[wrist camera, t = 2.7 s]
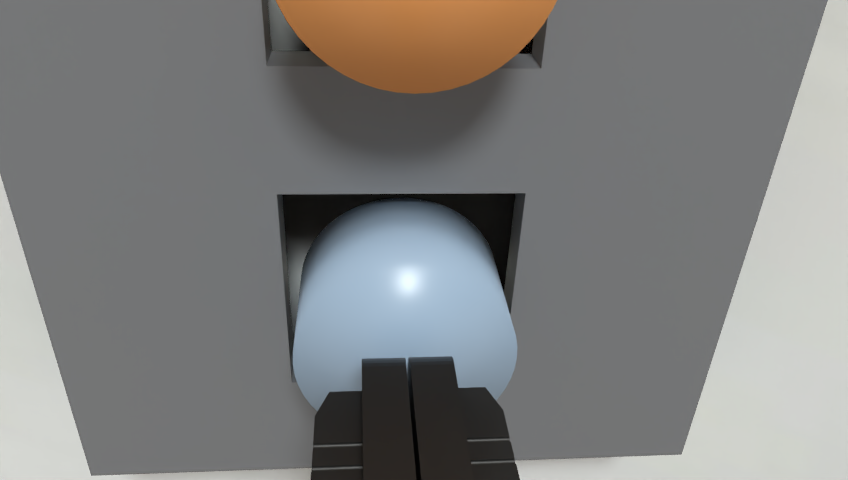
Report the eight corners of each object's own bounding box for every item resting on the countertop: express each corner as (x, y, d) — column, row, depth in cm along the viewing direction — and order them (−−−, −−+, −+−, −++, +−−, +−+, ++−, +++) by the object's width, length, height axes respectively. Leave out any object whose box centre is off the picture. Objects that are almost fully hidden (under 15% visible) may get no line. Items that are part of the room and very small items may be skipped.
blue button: (504, 197, 14) (529, 266, 12) (487, 355, 16) (506, 436, 14) (295, 198, 14) (285, 270, 12) (306, 359, 16) (298, 443, 14)
